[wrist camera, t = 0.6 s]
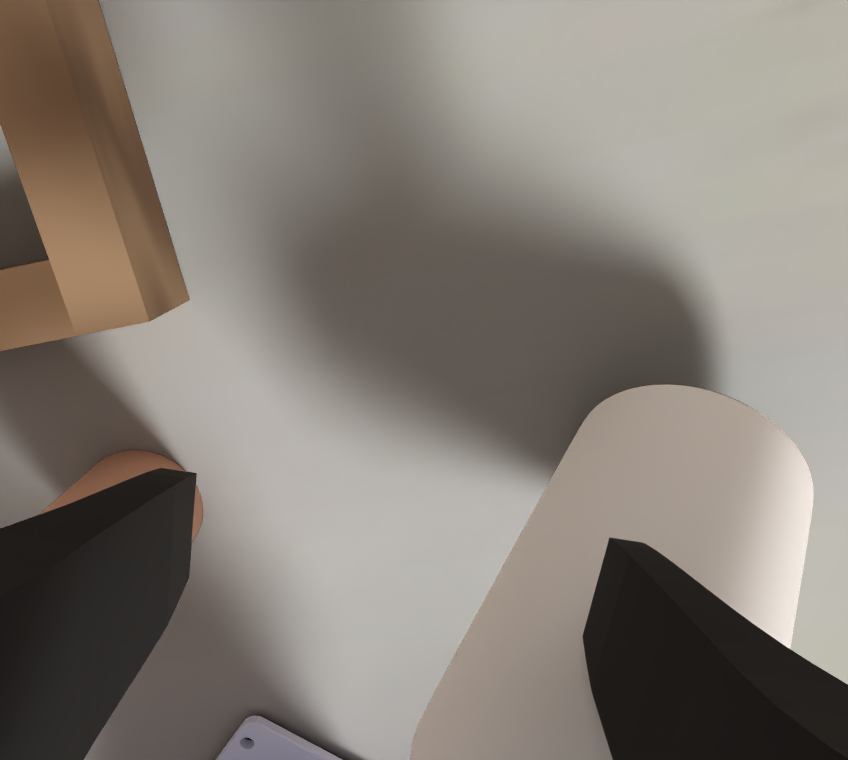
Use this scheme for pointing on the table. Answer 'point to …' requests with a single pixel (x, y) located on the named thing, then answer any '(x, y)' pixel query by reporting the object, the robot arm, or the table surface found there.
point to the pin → (123, 479)
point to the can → (584, 552)
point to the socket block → (78, 181)
